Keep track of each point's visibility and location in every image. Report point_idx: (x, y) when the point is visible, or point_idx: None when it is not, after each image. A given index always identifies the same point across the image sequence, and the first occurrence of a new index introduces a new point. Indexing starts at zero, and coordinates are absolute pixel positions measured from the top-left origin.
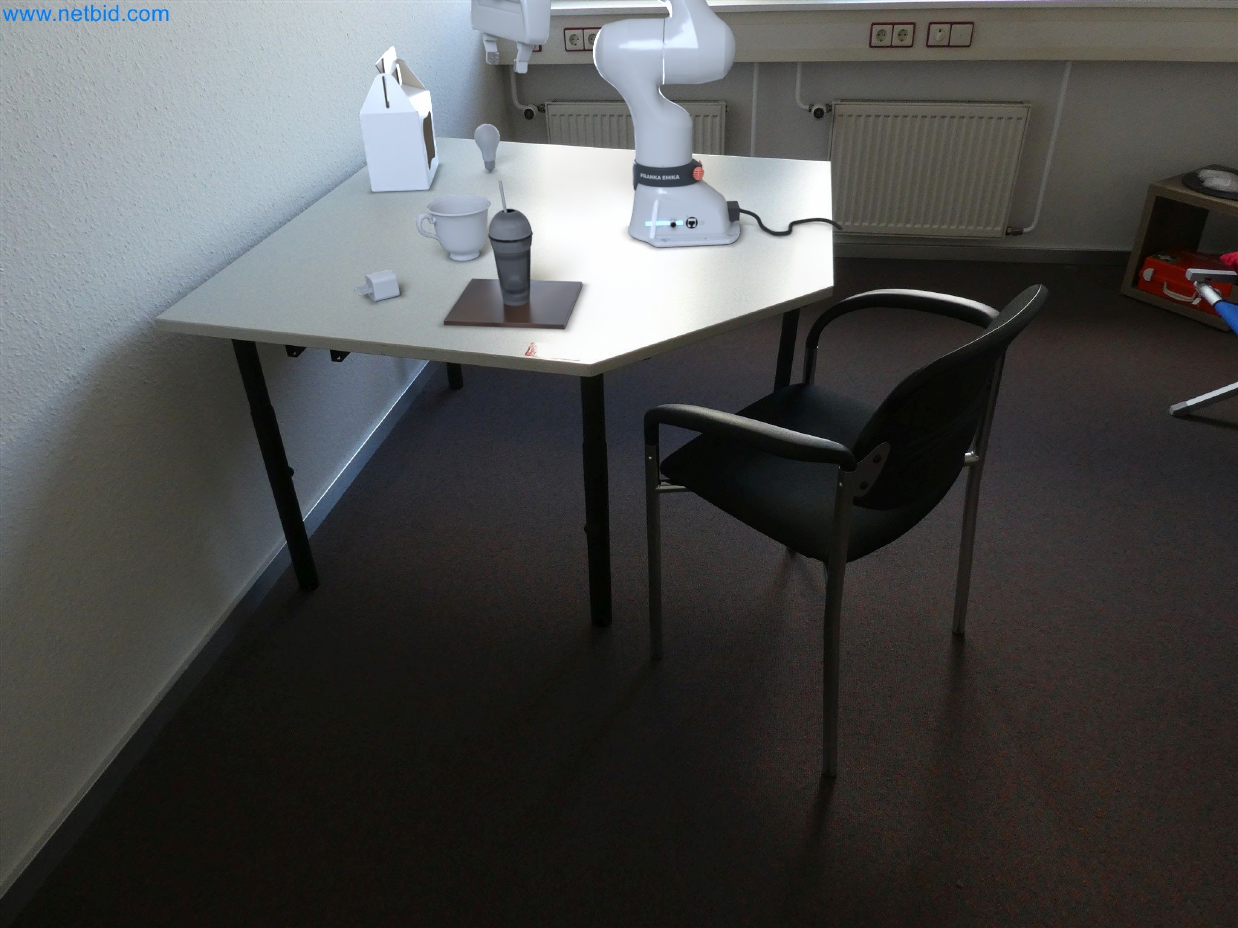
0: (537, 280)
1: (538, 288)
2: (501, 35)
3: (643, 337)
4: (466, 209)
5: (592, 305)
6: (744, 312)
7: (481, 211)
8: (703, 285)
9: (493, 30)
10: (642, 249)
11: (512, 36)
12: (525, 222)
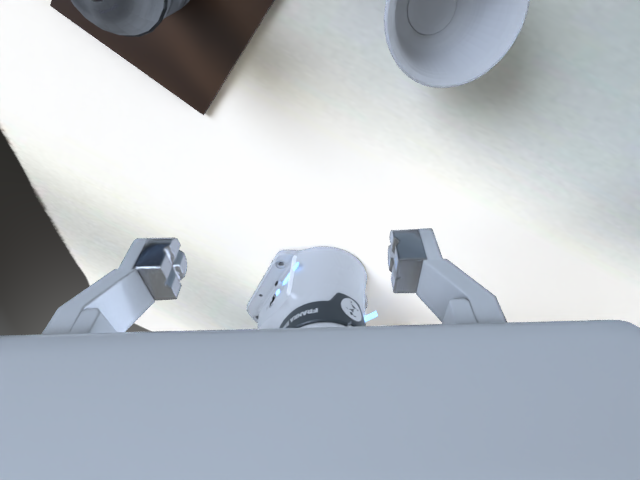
0: (236, 58)
1: (204, 43)
2: (214, 336)
3: (6, 92)
4: (481, 47)
5: (131, 89)
6: (59, 224)
7: (387, 41)
8: (147, 231)
9: (314, 347)
10: (286, 236)
11: (67, 348)
12: (80, 12)
